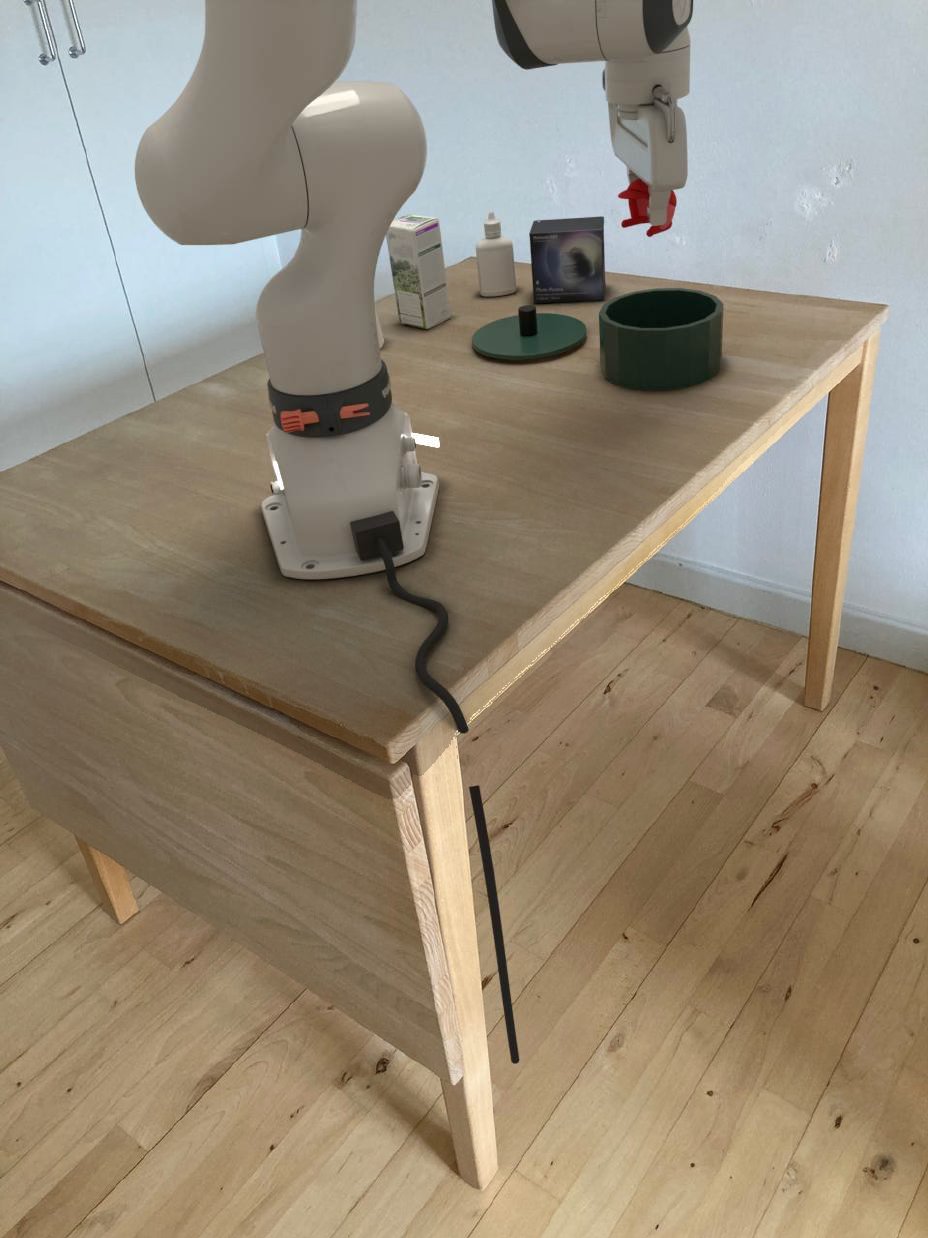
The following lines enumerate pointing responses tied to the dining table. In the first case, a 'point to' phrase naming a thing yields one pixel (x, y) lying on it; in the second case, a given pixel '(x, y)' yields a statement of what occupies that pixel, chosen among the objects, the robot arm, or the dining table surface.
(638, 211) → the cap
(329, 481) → the robot arm
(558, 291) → the small box
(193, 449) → the dining table surface
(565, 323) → the lid
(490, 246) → the eye dropper bottle
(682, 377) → the pot
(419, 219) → the syrup box
